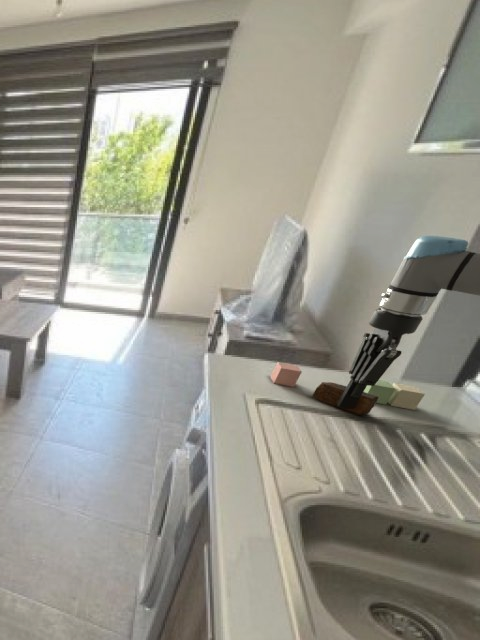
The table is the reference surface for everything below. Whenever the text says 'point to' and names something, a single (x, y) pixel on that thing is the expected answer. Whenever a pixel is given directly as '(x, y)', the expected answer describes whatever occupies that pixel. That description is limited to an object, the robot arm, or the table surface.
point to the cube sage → (381, 391)
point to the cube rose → (285, 374)
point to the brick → (334, 391)
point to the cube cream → (405, 396)
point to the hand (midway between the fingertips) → (344, 406)
